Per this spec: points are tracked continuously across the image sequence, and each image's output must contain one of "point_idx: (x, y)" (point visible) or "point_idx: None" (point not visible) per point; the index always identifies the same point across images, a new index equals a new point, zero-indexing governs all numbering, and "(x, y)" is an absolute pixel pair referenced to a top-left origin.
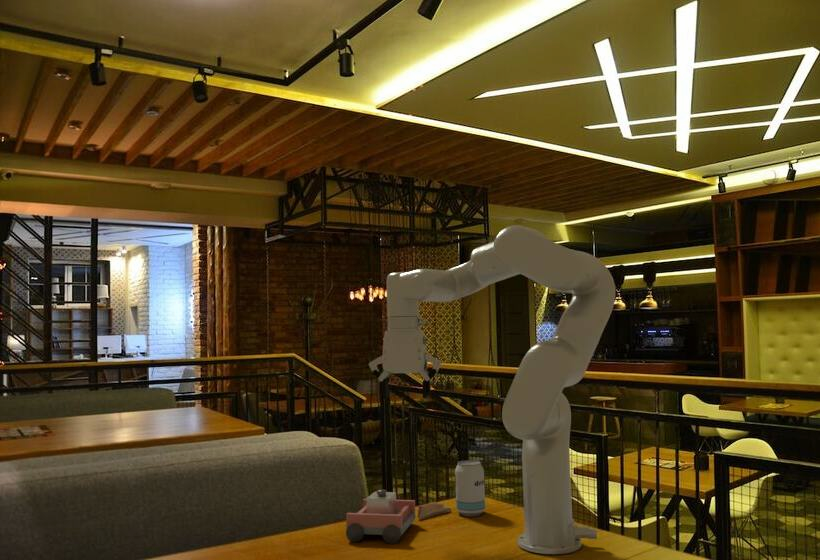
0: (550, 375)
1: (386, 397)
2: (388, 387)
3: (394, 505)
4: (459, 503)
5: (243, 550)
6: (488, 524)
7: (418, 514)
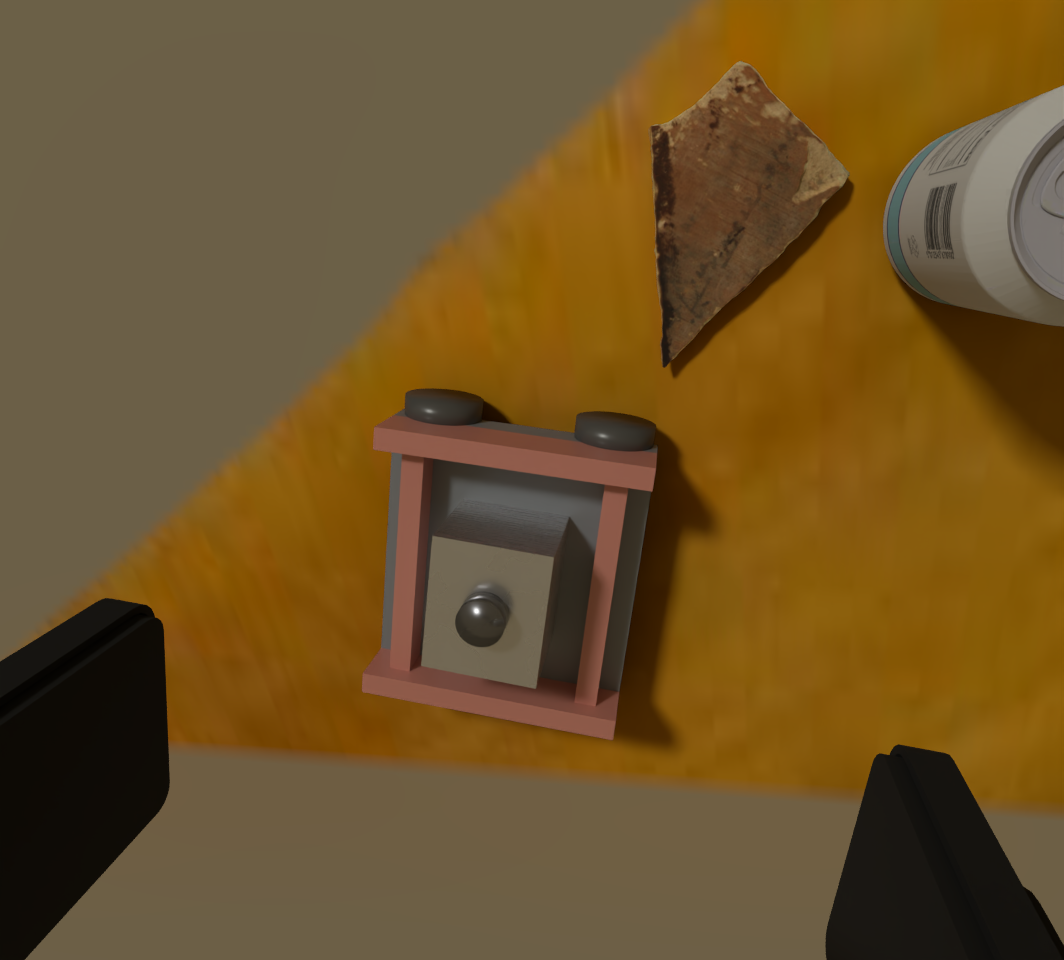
0: None
1: (164, 762)
2: (29, 729)
3: (557, 568)
4: (914, 279)
5: None
6: (1039, 428)
7: (664, 322)
